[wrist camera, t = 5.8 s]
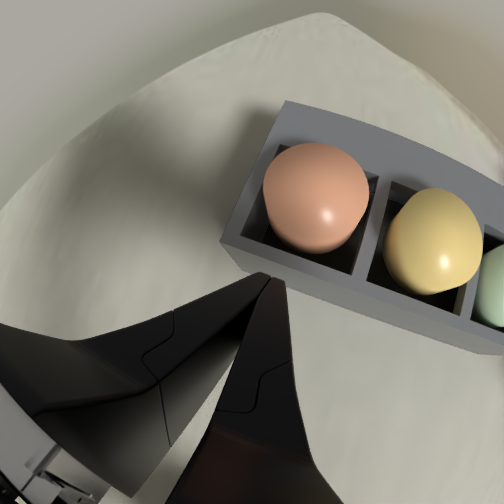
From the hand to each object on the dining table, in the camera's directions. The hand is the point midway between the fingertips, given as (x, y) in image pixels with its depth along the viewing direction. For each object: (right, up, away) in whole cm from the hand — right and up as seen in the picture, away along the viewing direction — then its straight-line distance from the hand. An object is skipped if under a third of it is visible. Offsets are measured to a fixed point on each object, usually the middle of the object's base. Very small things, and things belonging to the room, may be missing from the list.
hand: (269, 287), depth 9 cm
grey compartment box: (+11, +1, +13) cm, 17 cm away
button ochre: (+9, +1, +6) cm, 11 cm away
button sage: (+16, -2, +7) cm, 17 cm away
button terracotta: (+3, +3, +8) cm, 9 cm away
